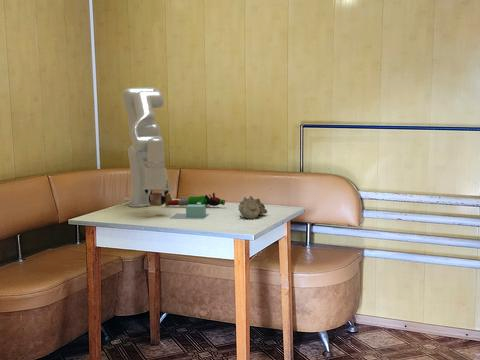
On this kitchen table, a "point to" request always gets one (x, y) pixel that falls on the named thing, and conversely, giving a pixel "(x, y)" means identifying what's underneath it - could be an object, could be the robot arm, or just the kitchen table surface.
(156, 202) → the walnut block
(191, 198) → the toy
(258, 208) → the seashell
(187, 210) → the teal brick
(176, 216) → the build board
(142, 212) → the kitchen table surface
